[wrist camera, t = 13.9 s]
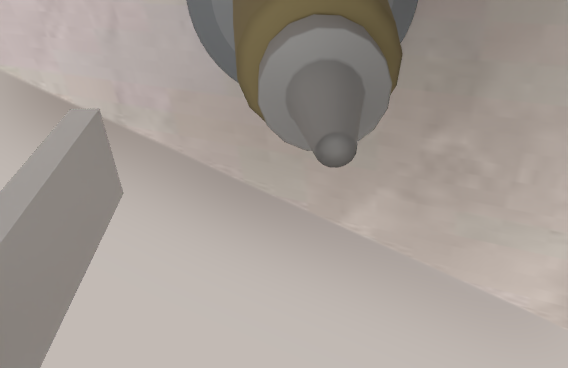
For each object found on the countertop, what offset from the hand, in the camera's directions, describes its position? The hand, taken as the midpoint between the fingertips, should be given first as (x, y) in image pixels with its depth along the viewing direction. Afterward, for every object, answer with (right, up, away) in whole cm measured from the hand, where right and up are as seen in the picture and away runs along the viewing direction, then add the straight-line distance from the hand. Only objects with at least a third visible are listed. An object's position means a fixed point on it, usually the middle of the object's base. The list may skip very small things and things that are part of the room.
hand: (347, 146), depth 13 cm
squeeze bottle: (-1, +10, +15) cm, 18 cm away
